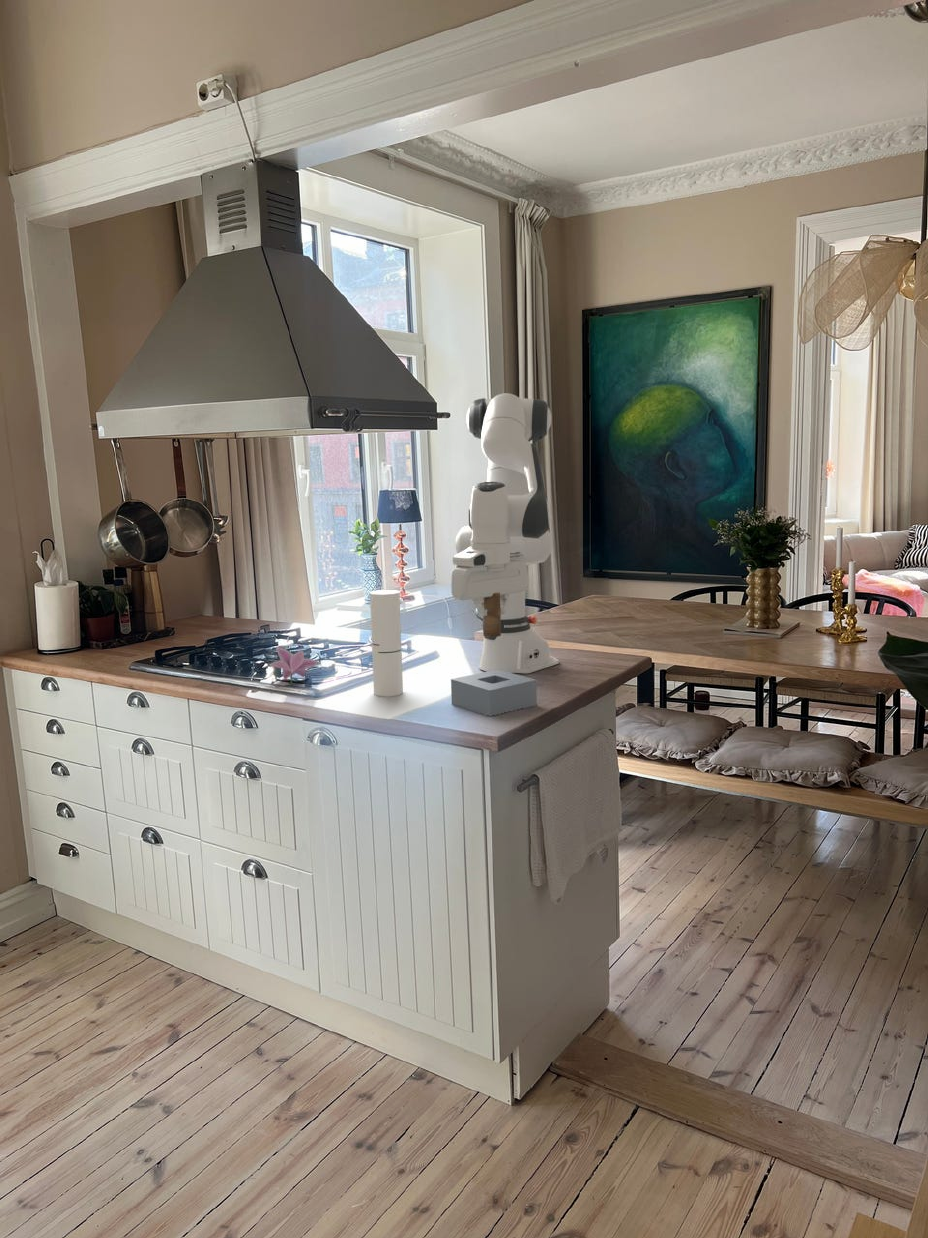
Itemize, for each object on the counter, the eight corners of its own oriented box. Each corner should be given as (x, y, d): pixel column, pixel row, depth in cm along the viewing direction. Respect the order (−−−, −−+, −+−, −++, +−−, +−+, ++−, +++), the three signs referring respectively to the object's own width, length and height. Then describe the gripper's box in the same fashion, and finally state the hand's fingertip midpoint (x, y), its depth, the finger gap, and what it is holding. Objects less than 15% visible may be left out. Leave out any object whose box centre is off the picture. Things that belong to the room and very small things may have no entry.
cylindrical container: (388, 687, 233) (384, 589, 228) (409, 691, 228) (405, 591, 224) (367, 693, 227) (363, 592, 223) (388, 698, 223) (384, 595, 218)
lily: (326, 686, 240) (325, 651, 243) (295, 678, 230) (294, 641, 233) (291, 696, 245) (290, 661, 249) (260, 688, 236) (259, 652, 239)
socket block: (497, 693, 225) (497, 669, 224) (536, 705, 214) (536, 679, 213) (451, 704, 216) (451, 679, 215) (490, 716, 205) (489, 690, 204)
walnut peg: (493, 632, 215) (492, 590, 213) (504, 635, 212) (503, 592, 210) (479, 635, 212) (479, 592, 211) (491, 637, 209) (490, 594, 207)
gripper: (516, 550, 217) (516, 608, 220) (446, 557, 205) (448, 619, 208) (534, 552, 213) (534, 611, 215) (464, 560, 200) (465, 623, 203)
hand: (491, 615), depth 211 cm, fingers closed on walnut peg, 4 cm apart
